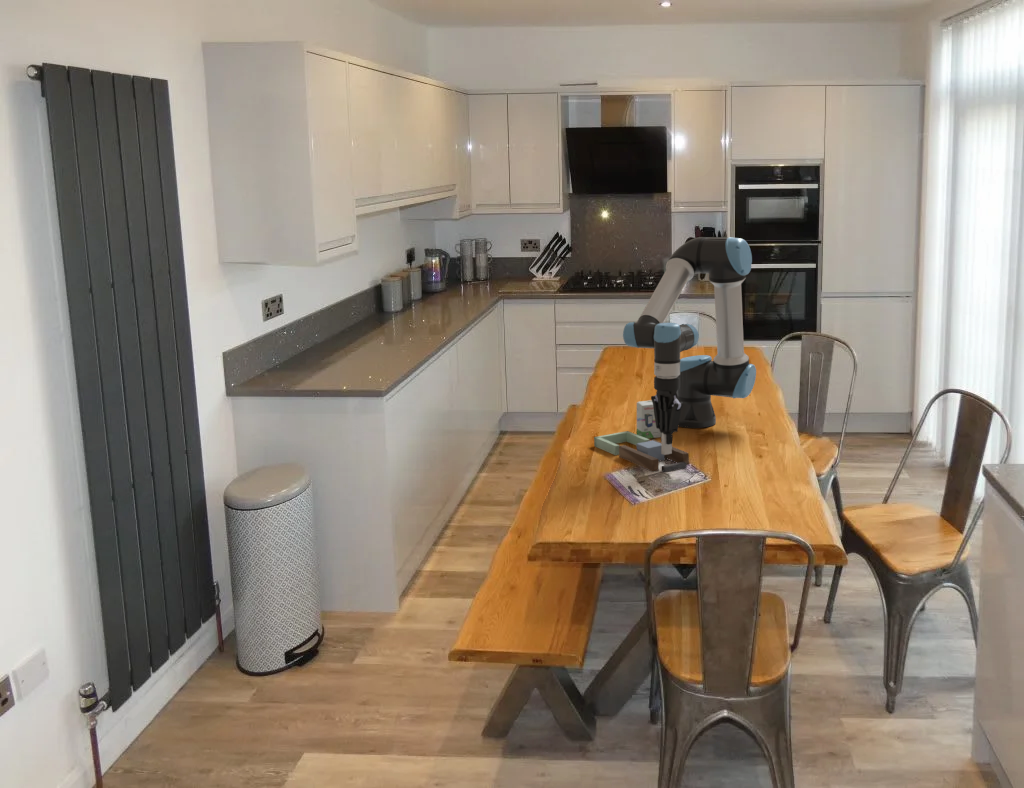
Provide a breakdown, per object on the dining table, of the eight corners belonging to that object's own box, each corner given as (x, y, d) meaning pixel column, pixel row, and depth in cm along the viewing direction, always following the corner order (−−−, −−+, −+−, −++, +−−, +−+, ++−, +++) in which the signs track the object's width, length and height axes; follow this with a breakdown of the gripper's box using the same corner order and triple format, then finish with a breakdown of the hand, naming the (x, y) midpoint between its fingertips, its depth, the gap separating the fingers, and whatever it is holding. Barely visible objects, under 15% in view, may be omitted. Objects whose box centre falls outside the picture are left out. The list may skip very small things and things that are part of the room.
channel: (653, 450, 318) (653, 439, 318) (688, 464, 303) (688, 453, 302) (619, 456, 313) (619, 446, 312) (653, 471, 297) (653, 460, 296)
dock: (627, 439, 331) (627, 430, 330) (650, 448, 320) (650, 439, 319) (594, 446, 325) (594, 437, 325) (615, 455, 314) (615, 446, 314)
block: (652, 455, 313) (652, 440, 312) (664, 460, 308) (664, 444, 307) (636, 459, 310) (636, 443, 309) (648, 463, 305) (648, 448, 304)
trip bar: (683, 466, 301) (683, 461, 301) (686, 467, 300) (686, 462, 299) (661, 470, 297) (661, 466, 297) (664, 472, 296) (664, 467, 296)
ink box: (659, 433, 337) (659, 399, 335) (666, 437, 333) (666, 402, 330) (636, 436, 335) (635, 401, 333) (642, 439, 330) (641, 404, 328)
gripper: (643, 373, 299) (643, 450, 304) (669, 381, 288) (669, 460, 293) (664, 371, 303) (663, 446, 308) (691, 378, 291) (690, 456, 296)
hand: (666, 453), depth 300 cm, fingers closed
